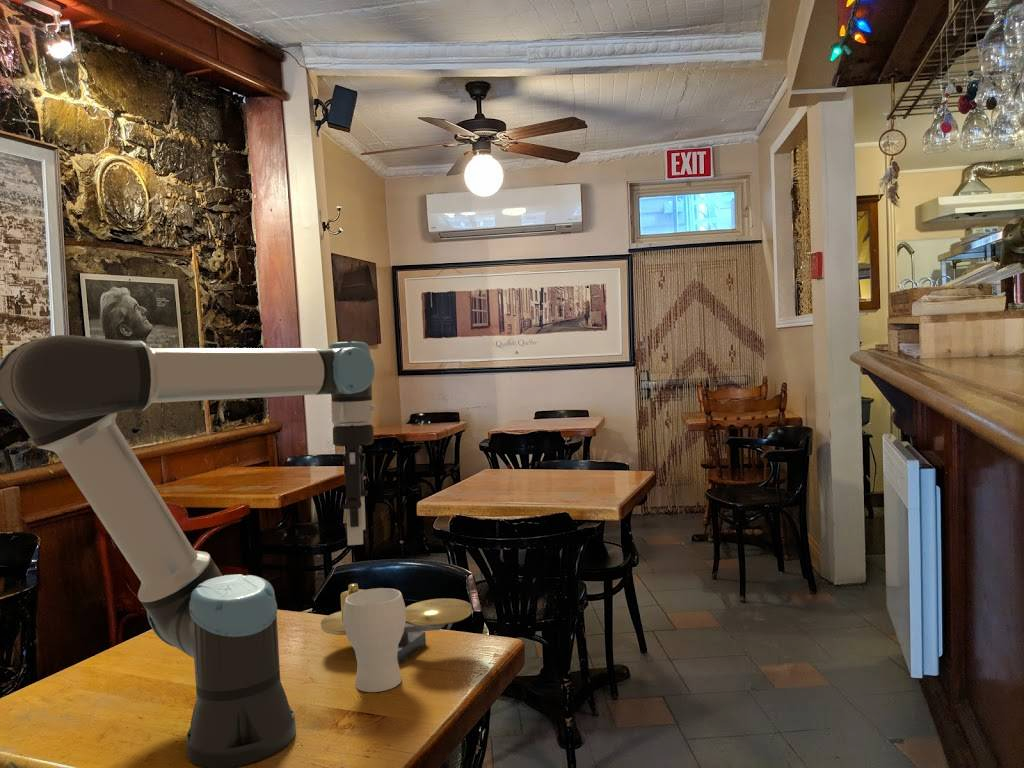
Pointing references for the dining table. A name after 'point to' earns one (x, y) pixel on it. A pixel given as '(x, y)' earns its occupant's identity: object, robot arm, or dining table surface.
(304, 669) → the dining table surface
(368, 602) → the cup
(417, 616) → the balance
